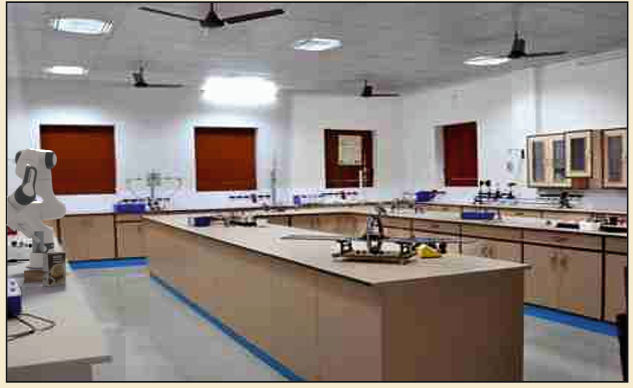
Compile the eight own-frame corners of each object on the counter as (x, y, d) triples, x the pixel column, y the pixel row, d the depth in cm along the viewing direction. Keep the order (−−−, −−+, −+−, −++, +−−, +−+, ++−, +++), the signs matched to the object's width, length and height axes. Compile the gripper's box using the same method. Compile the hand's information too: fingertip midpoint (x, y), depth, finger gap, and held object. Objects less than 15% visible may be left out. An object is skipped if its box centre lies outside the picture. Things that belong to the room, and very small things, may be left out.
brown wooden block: (24, 279, 317) (24, 267, 317) (53, 277, 323) (53, 266, 323) (24, 282, 307) (23, 270, 307) (54, 280, 313) (53, 269, 313)
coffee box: (49, 287, 296) (48, 254, 295) (42, 285, 299) (41, 253, 299) (66, 284, 303) (66, 252, 302) (59, 282, 307) (59, 251, 306)
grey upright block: (32, 252, 316) (32, 231, 316) (44, 251, 319) (43, 230, 319) (32, 253, 311) (32, 232, 311) (44, 252, 314) (43, 231, 313)
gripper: (22, 219, 302) (44, 238, 307) (24, 217, 321) (44, 235, 325) (12, 228, 301) (34, 247, 305) (14, 226, 319) (35, 243, 324)
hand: (39, 241), depth 315 cm, fingers closed on grey upright block, 6 cm apart
